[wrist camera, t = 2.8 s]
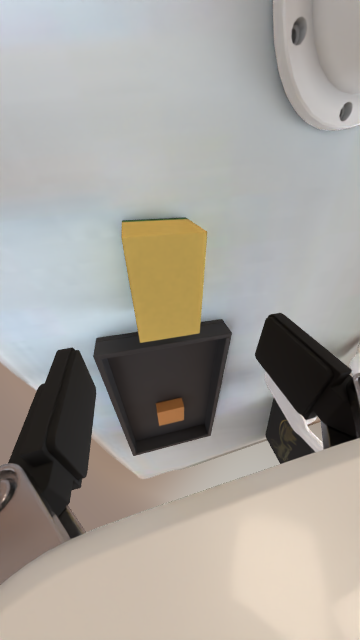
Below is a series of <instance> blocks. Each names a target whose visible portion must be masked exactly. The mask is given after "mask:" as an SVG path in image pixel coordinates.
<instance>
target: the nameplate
mask: <svg viewBox="0 0 360 640" xmlns="http://www.w3.org/2000/svg"><path fill="white" fill-rule="evenodd" d="M266 438H267V440H268V442H269V443H270V446H271V448H272V449H273V451H274V453H275V454H276V457H277V458H278V460H279V462H280V464H282V463H285V462H288V461H291V460H294V459H297V458H300V457H303V456H306V455H309V454H312V453H315V451H314V450H313V449H312V448H311V447H310V446H309V445H308V444H307V443H306V442H305V440H304V439H303V438H302V437H301V436H300V435H298V434H297V433H296V432H295V431H294V430H293V428H292V427H291V425H290V424H289V422H288V420H287V419H286V417H285V415H284V414H283V412H282V410H281V408H280V407H279V405H278V403H277V402H276V400H275V398H274V399H273V403H272V408H271V412H270V417H269V421H268V426H267V430H266Z"/></svg>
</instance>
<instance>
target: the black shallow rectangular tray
mask: <svg viewBox="0 0 360 640" xmlns="http://www.w3.org/2000/svg"><path fill="white" fill-rule="evenodd" d="M231 335H232V332H231V331H230V330H229V328H228V327H227V325H226V324H225V323H224V321H223V320H222V319H221V320H215V321H208V322H201V323H200V333H198V334H192V335H186V336H180V337H173V338H167V339H161V340H155V341H149V342H143V343H140V340H139V334H138V332H136V333H129V334H122V335H116V336H109V337H103V338H97V339H96V343H95V349H94V355H93V357H94V359H95V362H96V364H97V367H98V369H99V372H100V374H101V377H102V379H103V382H104V384H105V387H106V389H107V392H108V394H109V397H110V399H111V402H112V404H113V407H114V409H115V412H116V414H117V417H118V419H119V422H120V424H121V427H122V429H123V431H124V434H125V436H126V439H127V441H128V444H129V446H130V449H131V451H132V454H133V456H136V455H139V454H143V453H147V452H151V451H154V450H158V449H162V448H166V447H169V446H173V445H177V444H181V443H184V442H188V441H192V440H196V439H199V438H203V437H207V436H211V431H212V427H213V422H214V417H215V412H216V407H217V403H218V398H219V393H220V388H221V383H222V378H223V374H224V369H225V364H226V359H227V354H228V350H229V345H230V340H231ZM177 398H182V401H183V404H184V420H182V421H177V422H173V423H169V424H165V425H161V426H159V422H158V415H157V408H156V403H159V402H163V401H168V400H172V399H177Z"/></svg>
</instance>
